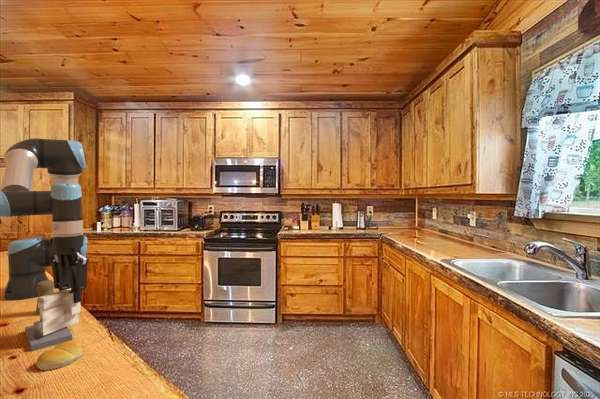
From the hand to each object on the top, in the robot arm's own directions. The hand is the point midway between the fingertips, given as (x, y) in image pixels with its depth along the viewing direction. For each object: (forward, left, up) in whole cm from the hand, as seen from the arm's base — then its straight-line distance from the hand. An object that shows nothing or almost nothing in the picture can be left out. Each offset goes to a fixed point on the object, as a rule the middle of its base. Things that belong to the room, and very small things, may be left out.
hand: (71, 312), depth 98 cm
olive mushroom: (-23, -12, -6) cm, 26 cm away
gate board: (+1, -6, -6) cm, 8 cm away
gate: (+3, -3, -4) cm, 5 cm away
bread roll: (+20, +1, -6) cm, 21 cm away
